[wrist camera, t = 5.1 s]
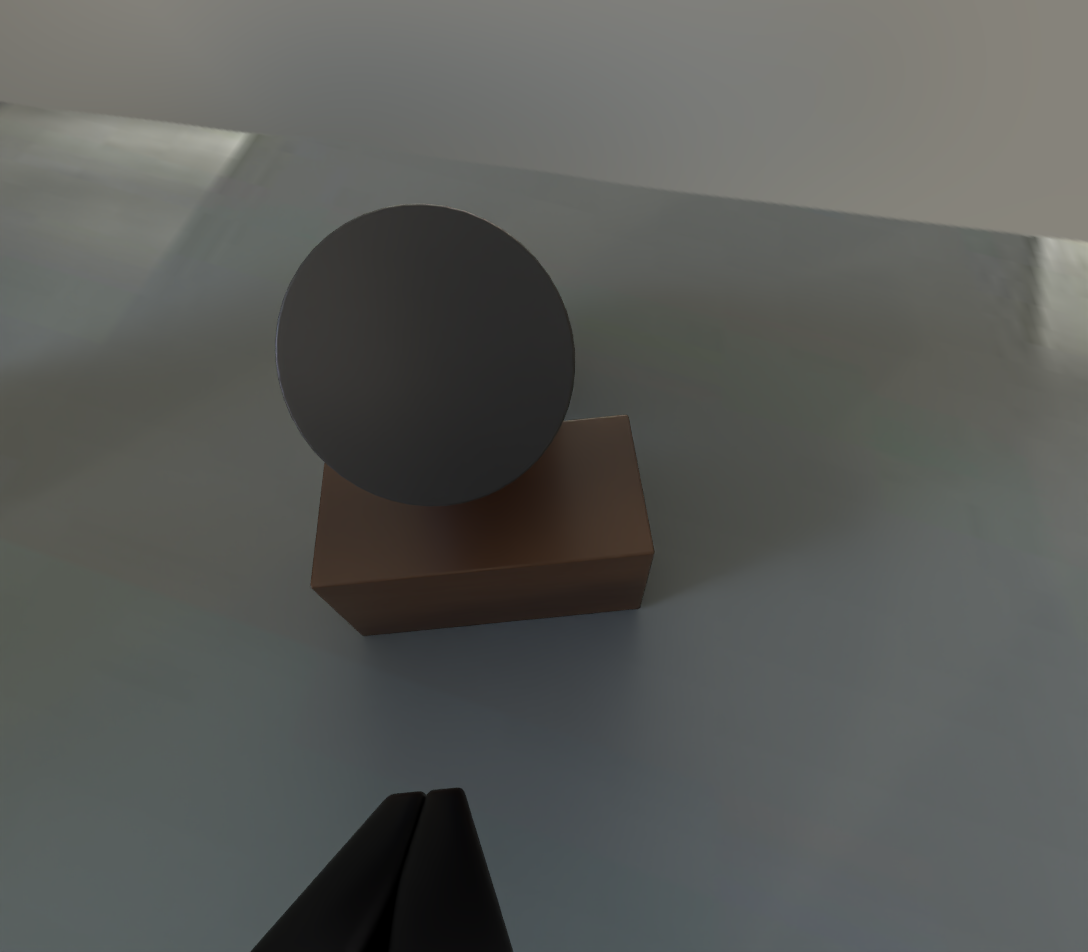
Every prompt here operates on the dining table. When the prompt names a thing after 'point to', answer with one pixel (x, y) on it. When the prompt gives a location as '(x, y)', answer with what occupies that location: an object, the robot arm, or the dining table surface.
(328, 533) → the walnut block
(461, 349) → the tube
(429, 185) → the dining table surface
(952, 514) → the dining table surface
